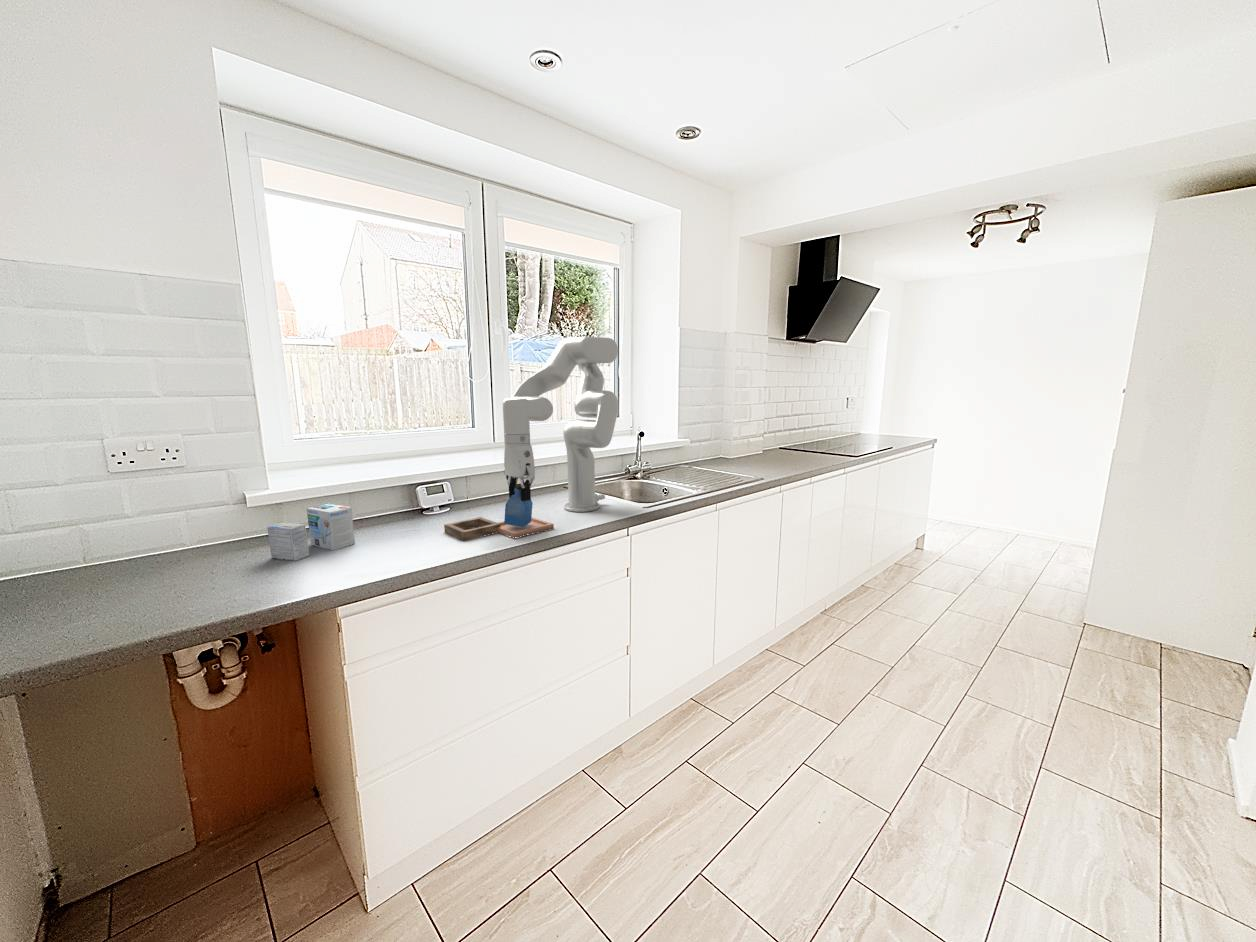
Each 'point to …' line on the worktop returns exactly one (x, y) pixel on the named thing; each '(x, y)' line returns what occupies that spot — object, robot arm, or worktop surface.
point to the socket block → (459, 527)
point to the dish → (525, 528)
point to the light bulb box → (331, 526)
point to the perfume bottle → (518, 509)
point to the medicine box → (288, 541)
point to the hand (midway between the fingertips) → (519, 498)
